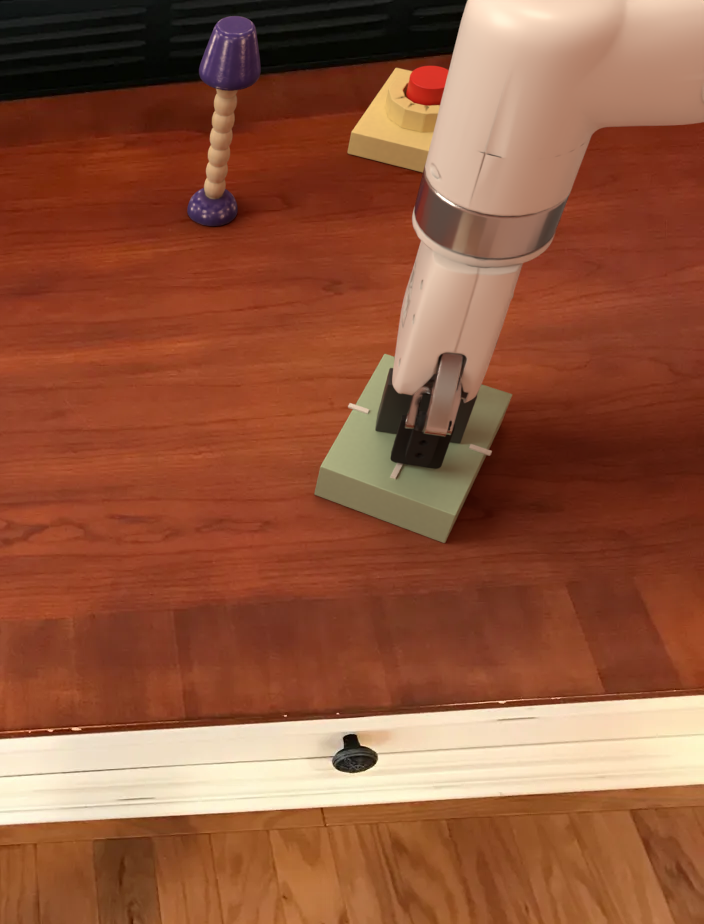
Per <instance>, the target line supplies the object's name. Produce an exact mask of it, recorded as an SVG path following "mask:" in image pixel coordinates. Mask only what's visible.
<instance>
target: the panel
mask: <svg viewBox="0 0 704 924" xmlns="http://www.w3.org/2000/svg"><path fill="white" fill-rule="evenodd" d="M394 359H395V355H394V356H393V355H391V354H387V353H384V354H383V355H382V358H380V361H379V362H378V364H377V366H376V367H375V369H374V371H373V373H372V374H371V377H370V379H369V380H368V382H367V384H366V385H365V387H364V389H363V391H362V393H361V394H360V396H359V398H358V399H357V401H356V403H351V402H349V403H348V405H347V408H348V409H350V410H351V412H350V414H349V415H348V417H347V419H346V421H344V424H343V426H342V427H341V430H340V431H339V433H338V434H337V437H336V438H335V440H334V442H333V444H332V445H331V447H330V448H329V450H328V452H327V454H326V456H325V458H324V459H323V460H322V463H321V465H320V467H319V471H318V475H317V479H316V480H317V481H316V483H315V484H316V485H315V489H314V495H315V496H317V497H320V498H322V499H324V500H328V501H330V502H333V503H336V504H339V505H341V506H344V507H346V508H349V509H351V510H355V511H357V512H360V513H363V514H365V515H367V516H371V517H373V518H375V519H378V520H381V521H383V522H387V523H389V524H391V525H394V526H397V527H400V528H402V529H405V530H408V531H410V532H413V533H416V534H419V535H421V536H424V537H426V538H428V539H432V540H434V541H438V542H440V543H442V544H446V542H447V540H448V538H449V536H450V533H451V531H452V529H453V527H454V526H455V523H456V521H457V519H458V517H459V515H460V512H461V510H462V508H463V506H464V504H465V503H466V500H467V497H468V495H469V493H470V492H471V489H472V487H473V484H474V483H475V481H476V478H477V476H478V474H479V472H480V470H481V468H482V466H483V463H484V461H485V459H486V457H487V456H488V457H490V456H491V455H492V452H493V450H491V449H490V448H491V446H492V444H493V443H494V441H495V438H496V436H497V434H498V431H499V429H500V428H501V425H502V423H503V420H504V417H505V415H506V412H507V410H508V408H509V405H510V402H511V400H512V398H513V393H510V392H507V391H504V390H502V389H501V390H500V389H497V388H494V387H492V386H488V385H485V384H483V383H482V384H481V387H480V389H479V391H478V393H477V399H476V401H475V404H474V407H473V410H472V413H471V415H470V418H469V421H468V424H467V426H466V429H465V432H464V435H463V438H462V440H461V443H452V442H450V443H449V446H448V449H447V452H446V455H445V458H444V460H443V463H442V466H441V467H440V468H438V469H432V468H426V467H420V466H414V465H407V464H401V463H395V462H393V461H391V459H390V458H391V451H392V448H393V444H394V441H395V437H396V434H393V433H387V432H380V431H376V430H375V427H376V420H377V414H378V410H379V406H380V402H381V399H382V395H383V391H384V387H385V384H386V380H387V376H388V372H389V369H390V368H393V367H394Z"/></svg>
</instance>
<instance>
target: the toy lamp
mask: <svg viewBox="0 0 704 924" xmlns="http://www.w3.org/2000/svg"><path fill="white" fill-rule="evenodd" d="M261 68H262V67H261V57H260V51H259V42H258V34H257V29H256V25H255V23H254V22H253V21H251V20H250V19H249V18H246V17H244V16H239V15H232V16H231V15H230V16H226V17H223V18H221V19H219V21H217V22H216V24H215V25H214V27H213V30H212V32H211V35H210V37H209V40H208V42H207V45H206V48H205V50H204V53H203V56H202V59H201V61H200V64H199V68H198V75H199V78H200V80H201V81H202V82H203V83H204V84H206V86H209V87H211V88H213V89H215V91H216V94H215V96H214V99H213V107H214V112H213V114H212V116H211V125H212V128H211V131H210V133H209V142H210V145H209V148H208V150H207V160H208V163H207V164H206V167H205V175H206V179H205V181H204V184H203V187H202V188H201V189H198V190H197V191H196V192H194V194H193V195H192V196H191V197H190V200H189V201H188V203H187V204H188V205H187V208H186V210H187V211H186V212H187V216H188V217H189V218H190V219H191V220H192V221H193V222H195V223H196V224H200V225H202V226H208V227H219V226H224V225H227V224H229V223H231V222H232V221H233V220H235V218H236V217H237V214H238V209H239V207H238V203H237V200H236V198H235V196H234V195H233V193H232V192H230V191H229V190H228V189H226V185H227V183H226V177H227V175H228V172H229V171H228V170H229V166H228V162H229V161H230V157H231V149H230V146H231V144H232V141H233V130H232V129H233V127H234V125H235V120H236V119H235V111H236V108H237V105H238V97H237V93H238V91H240V90H245V89H247V88H250V87H252V86H253V85H255V84H256V83H257V82H258V80H259V79H260V75H261V72H262V71H261V70H262V69H261Z"/></svg>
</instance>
